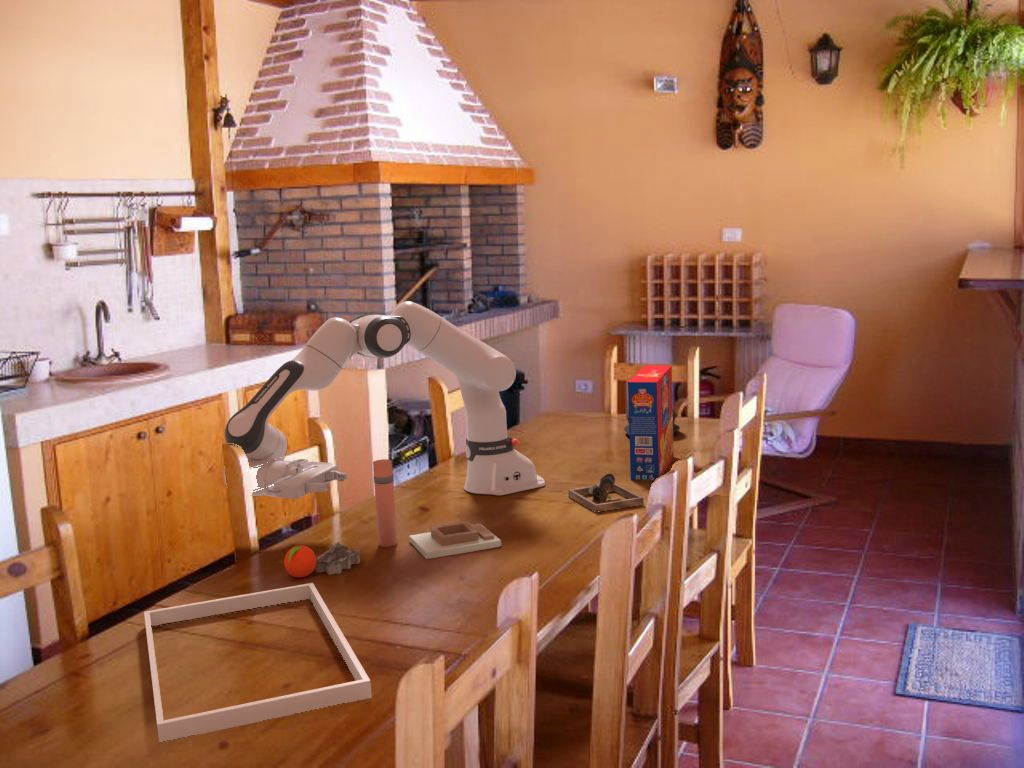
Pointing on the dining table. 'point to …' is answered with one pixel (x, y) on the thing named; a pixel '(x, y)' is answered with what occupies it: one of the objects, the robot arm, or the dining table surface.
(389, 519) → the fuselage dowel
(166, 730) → the frame
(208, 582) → the dining table surface
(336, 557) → the grey castle model
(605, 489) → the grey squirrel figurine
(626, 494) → the figurine display rim
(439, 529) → the cradle jig
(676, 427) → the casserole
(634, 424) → the blue cardboard box
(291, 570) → the clementine
